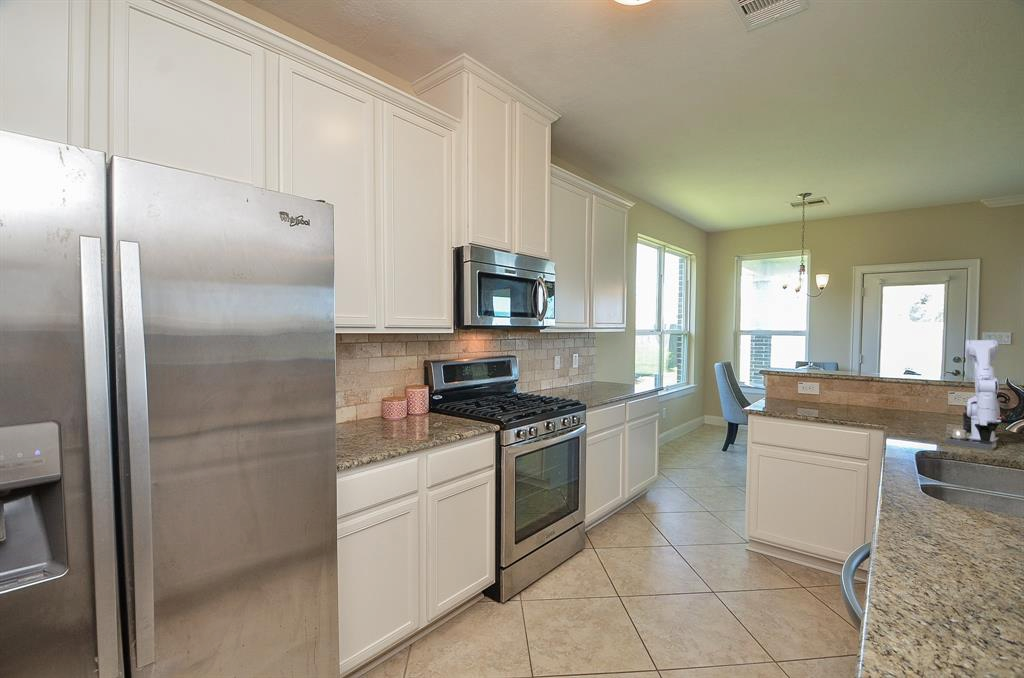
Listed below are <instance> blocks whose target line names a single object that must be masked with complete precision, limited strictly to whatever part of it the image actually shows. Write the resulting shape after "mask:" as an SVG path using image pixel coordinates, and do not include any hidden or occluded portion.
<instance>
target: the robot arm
mask: <svg viewBox="0 0 1024 678" xmlns="http://www.w3.org/2000/svg"><path fill="white" fill-rule="evenodd" d="M998 351H999V342H998V340H997V339H967V340H965V356H966V359H967V360H969V361H972V364H973V367H974V371H973V372H974V392H975V393H974V394H975V395H974V396H972V397H970V398H968V399H967V402H966V407H967V416H969V417H971V433H970V435H969V437H968V438H969V439H977V440H980V439H981V440H985V441H990V438H991V433H992V431H994V442H997V440H999V437H996V431H997V428H998V427H999V425H1000V423H1001V422H1002V420H1001V419H999V418H1000V415H1001V410H1000V403H999V401H998V400H997V399H998V398H997V396H998V393H999V389H1000V388H999V387H1000V386H999V381H998V378H996V373H995V371H996V370H995V368H994V367H993V366H991V362H992V361H994V360H996V358H997V357H998Z"/></svg>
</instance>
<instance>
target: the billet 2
mask: <svg viewBox="0 0 1024 678" xmlns="http://www.w3.org/2000/svg"><path fill="white" fill-rule="evenodd" d="M980 440H981V439H980ZM990 441H993V442H995V441H994V431H992V433H991V438H990Z"/></svg>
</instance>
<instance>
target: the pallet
mask: <svg viewBox="0 0 1024 678" xmlns="http://www.w3.org/2000/svg"><path fill="white" fill-rule="evenodd" d="M945 445H950V446H955V447H956V446H957V447H963V448H972V449H979V450H985V449H986V451H993V450H995V449H996V448H997V441H994V442H993V441H985V440H979V439H971V438H969V437H966V441H964V440H956V439H953V435H952V436H949V437H946V438H945Z"/></svg>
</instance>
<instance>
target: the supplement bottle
mask: <svg viewBox="0 0 1024 678" xmlns="http://www.w3.org/2000/svg"><path fill="white" fill-rule="evenodd" d="M964 408H965V411H964V412H963V413H962V429H963V430H966V433H968V432H969V434H971V417H969V416H967V406H965V407H964Z"/></svg>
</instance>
